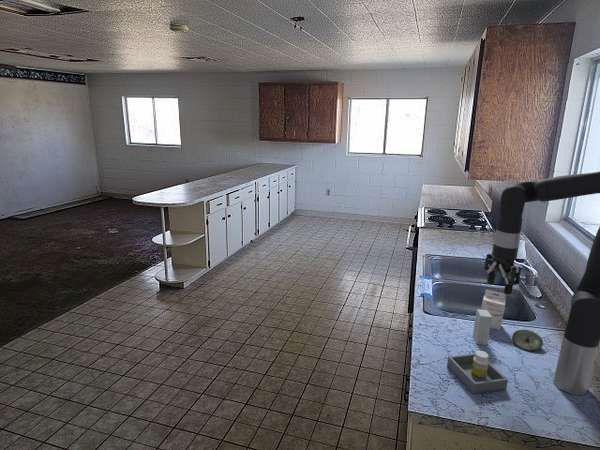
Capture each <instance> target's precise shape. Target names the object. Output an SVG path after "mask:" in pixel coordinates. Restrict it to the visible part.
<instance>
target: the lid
mask: <svg viewBox="0 0 600 450" xmlns="http://www.w3.org/2000/svg"><path fill="white" fill-rule="evenodd" d="M511 341H512V343H513V344H514V346H515V347H518V348H519V349H520V350H524V351H527V352H534V351H537V350H539V349H541V348H542V347H543V345H544V340H543V339H542V337H541V336H540V335H539V334H538V333H536V332H535V331H533V330H528V329H518V330H515V332H513V334H512V336H511Z"/></svg>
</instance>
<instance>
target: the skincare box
mask: <svg viewBox="0 0 600 450" xmlns="http://www.w3.org/2000/svg"><path fill="white" fill-rule="evenodd" d="M491 321H492V316H491V315H490V313H489V312H488V310H481V308H480V309H479V308H477V309H476V313H475V320H474V326H473V330H472V331H473V332H472V337H473V339H474V342H475V344H476V345H489V344H488V343H489V338H490V331H491V328H490V327H491Z"/></svg>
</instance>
